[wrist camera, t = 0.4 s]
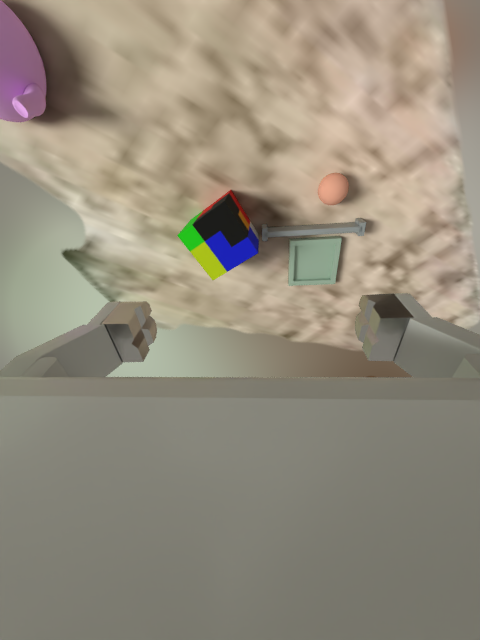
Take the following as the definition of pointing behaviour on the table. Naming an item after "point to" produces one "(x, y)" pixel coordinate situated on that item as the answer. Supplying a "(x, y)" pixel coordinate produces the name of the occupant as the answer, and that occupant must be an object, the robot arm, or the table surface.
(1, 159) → the table surface
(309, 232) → the bar with end supports
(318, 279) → the dish
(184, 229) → the puzzle toy
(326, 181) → the ball
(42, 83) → the teapot
